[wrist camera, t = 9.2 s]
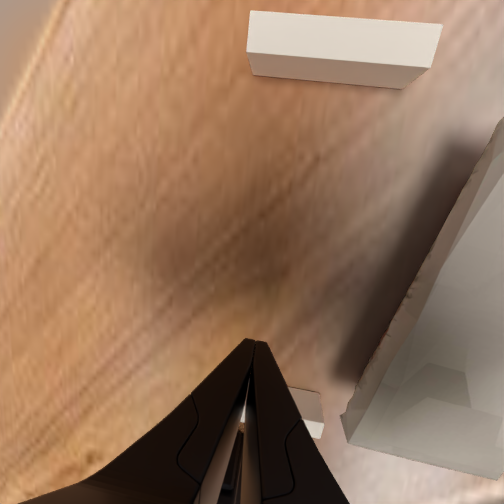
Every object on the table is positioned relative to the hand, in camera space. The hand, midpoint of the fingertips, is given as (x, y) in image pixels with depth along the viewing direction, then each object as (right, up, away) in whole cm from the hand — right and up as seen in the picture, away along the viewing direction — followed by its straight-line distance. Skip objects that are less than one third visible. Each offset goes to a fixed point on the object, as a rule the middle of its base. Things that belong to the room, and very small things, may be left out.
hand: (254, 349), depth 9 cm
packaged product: (+7, +1, +4) cm, 9 cm away
